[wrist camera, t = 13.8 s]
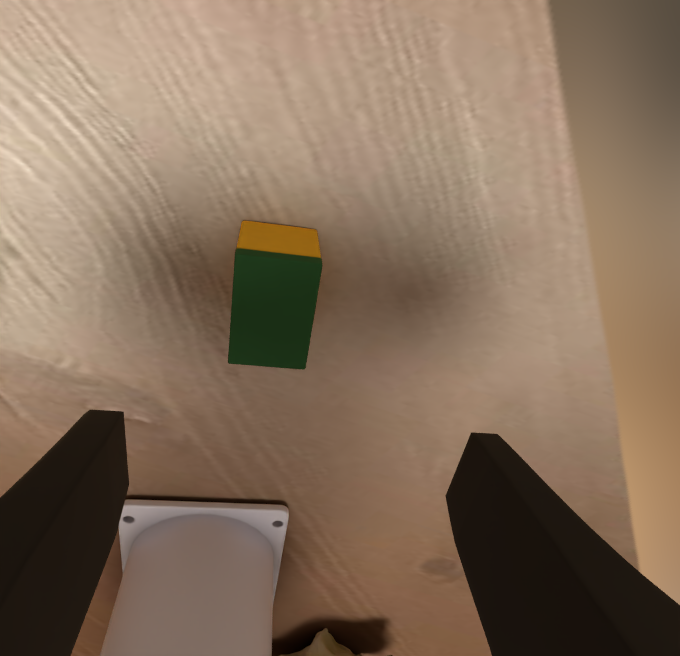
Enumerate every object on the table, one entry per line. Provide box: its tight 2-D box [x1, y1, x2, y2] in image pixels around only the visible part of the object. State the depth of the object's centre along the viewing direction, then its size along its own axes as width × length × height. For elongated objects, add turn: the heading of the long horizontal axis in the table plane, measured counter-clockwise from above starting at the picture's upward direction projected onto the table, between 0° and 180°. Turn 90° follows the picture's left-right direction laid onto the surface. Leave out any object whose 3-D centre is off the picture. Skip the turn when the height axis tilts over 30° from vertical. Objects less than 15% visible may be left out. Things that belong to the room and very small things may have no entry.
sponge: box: [228, 221, 322, 369], centre depth 17 cm, size 4×3×3 cm, turn 170°
